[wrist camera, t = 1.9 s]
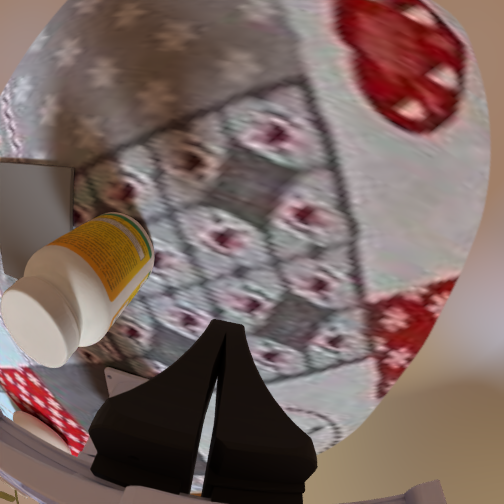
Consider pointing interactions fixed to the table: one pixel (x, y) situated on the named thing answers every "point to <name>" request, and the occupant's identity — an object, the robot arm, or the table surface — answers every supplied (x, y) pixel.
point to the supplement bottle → (77, 287)
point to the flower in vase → (40, 431)
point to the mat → (32, 210)
